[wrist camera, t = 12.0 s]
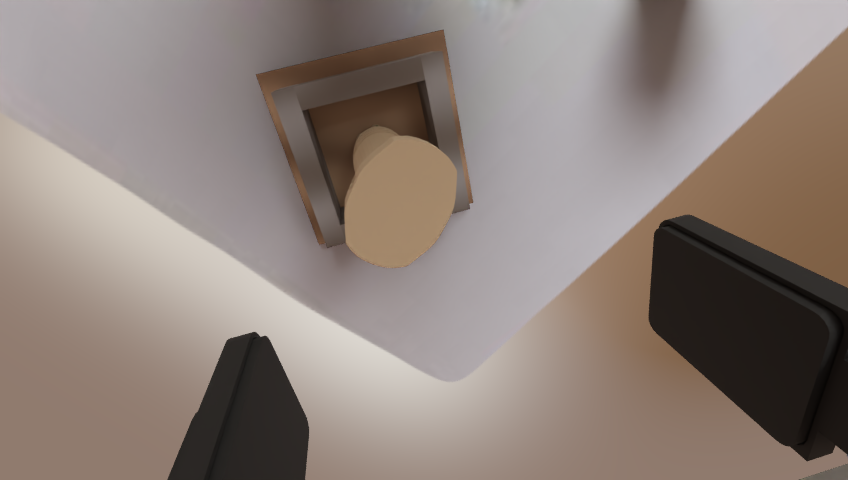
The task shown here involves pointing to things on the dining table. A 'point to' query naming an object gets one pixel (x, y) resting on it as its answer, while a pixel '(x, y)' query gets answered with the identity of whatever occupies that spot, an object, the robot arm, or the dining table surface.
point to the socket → (362, 118)
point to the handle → (397, 197)
